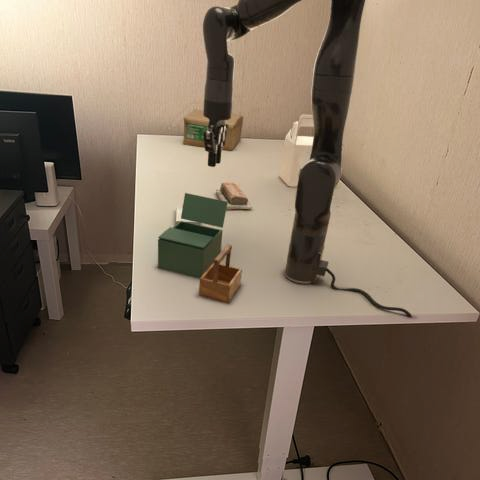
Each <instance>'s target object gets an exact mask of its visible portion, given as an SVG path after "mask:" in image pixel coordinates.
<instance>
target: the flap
mask: <svg viewBox="0 0 480 480" xmlns="http://www.w3.org/2000/svg"><path fill="white" fill-rule="evenodd" d="M227 203H228V202H227V201H222V200H220V199H217V198H212V197H207V196H202V195H197V194H192V193H187V192H185V193H184V197H183V202H182V207H181V208H182V215H181V219H185V220H190V221H194V222H199V223H201V224H204V225H207V226H213V227H216V228H217V227H218V228H220V229H221V228H222V229H224V224H225V218H226V212H227V210H226V208H227Z"/></svg>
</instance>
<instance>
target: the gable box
mask: <svg viewBox="0 0 480 480" xmlns="http://www.w3.org/2000/svg"><path fill="white" fill-rule="evenodd" d="M301 127H307V128H309V127H310V128H314V123H313V115H312V114H310V113H309V114H308V113H307V114H306V113H301V114H300V115H299V118H298V120H297V121H292V126H291V128H290V129H289V131H288V133H287V134H286V136H285V137H284V138H285V139H284V143H283V144H284V145H283V150H282V151H283V152H282V157H281V165H280V172H279V178H280V179H281V180H282V181H283V182H284V183H285V184H286V185H287V186H288V187H289V188H290V187H291V188H297V185H298V179H299V175H300V172H301V169H302V168H300V167H301V166H300V157H301V156H302V155H304V154H311V151H312V145H313V138H314V135H299V130H300V128H301ZM343 152H344V143H342V153H343Z"/></svg>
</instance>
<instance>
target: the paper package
mask: <svg viewBox="0 0 480 480" xmlns="http://www.w3.org/2000/svg"><path fill="white" fill-rule="evenodd" d="M203 112H204V109H197V108H194V109H193V110H192V111H191V112H189V113H187V114H186V116H184V117H183V145H186V146H194V147H195V146H196V147H204V148H205V144H204V134H203V133H204V130H205V131H207V127H208V124H209V119H208V118H206V117H205V116H204V115H203ZM243 123H244V116H243V115H242V114H236V113H232V115H231V118H230V119H229V120H225V124H228V131H227V136H226V142H225V146H223V149H222V150H227V151H232V150H234V148H235V147H236V146H237V145H238V143H239V142H240V141H241V137H242V129H243V125H244V124H243Z"/></svg>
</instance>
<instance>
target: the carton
mask: <svg viewBox="0 0 480 480" xmlns="http://www.w3.org/2000/svg"><path fill="white" fill-rule="evenodd" d="M222 240H223V229H221V228H220V229H219V228H215V227H210V226H207V225H202V224H201V225H197V224H193V223H188V222H184V221H180V222H179V223H178V224H176V223H175V225H174V226H173V227H168V228H167V229H166V230H165V231H163V232H162V233H161V234H160V235H158V239H157V268H158V269H161V270H165V271H169V272H173V273H176V274H181V275H185V276H189V277H193V278H197V279H200V278H201V277H202V275H203V274H204V273H205V272H206V271H207V270H208V268H209V267H210V266H211V265H212V264H213V263H214V259H215V258H216V257H217V256H218V255H219V254H220V252H221V251H222V244H223V243H222V242H223V241H222Z"/></svg>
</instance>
